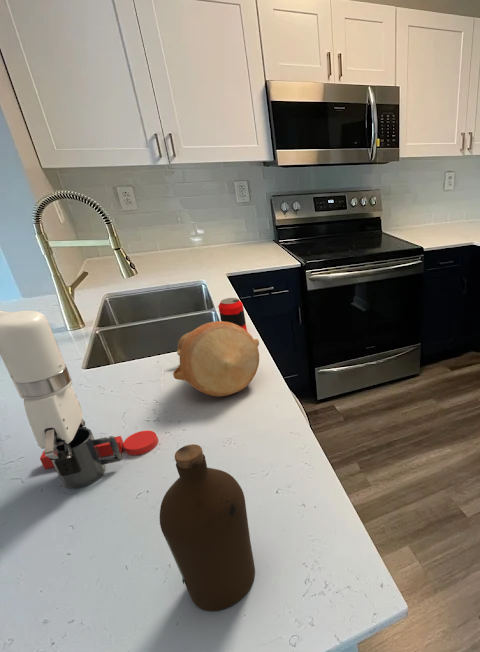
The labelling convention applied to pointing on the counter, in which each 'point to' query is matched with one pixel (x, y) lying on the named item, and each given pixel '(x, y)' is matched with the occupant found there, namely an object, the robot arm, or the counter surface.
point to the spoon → (120, 446)
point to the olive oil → (208, 532)
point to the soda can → (232, 312)
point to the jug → (217, 358)
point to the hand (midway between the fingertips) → (77, 458)
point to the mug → (88, 458)
